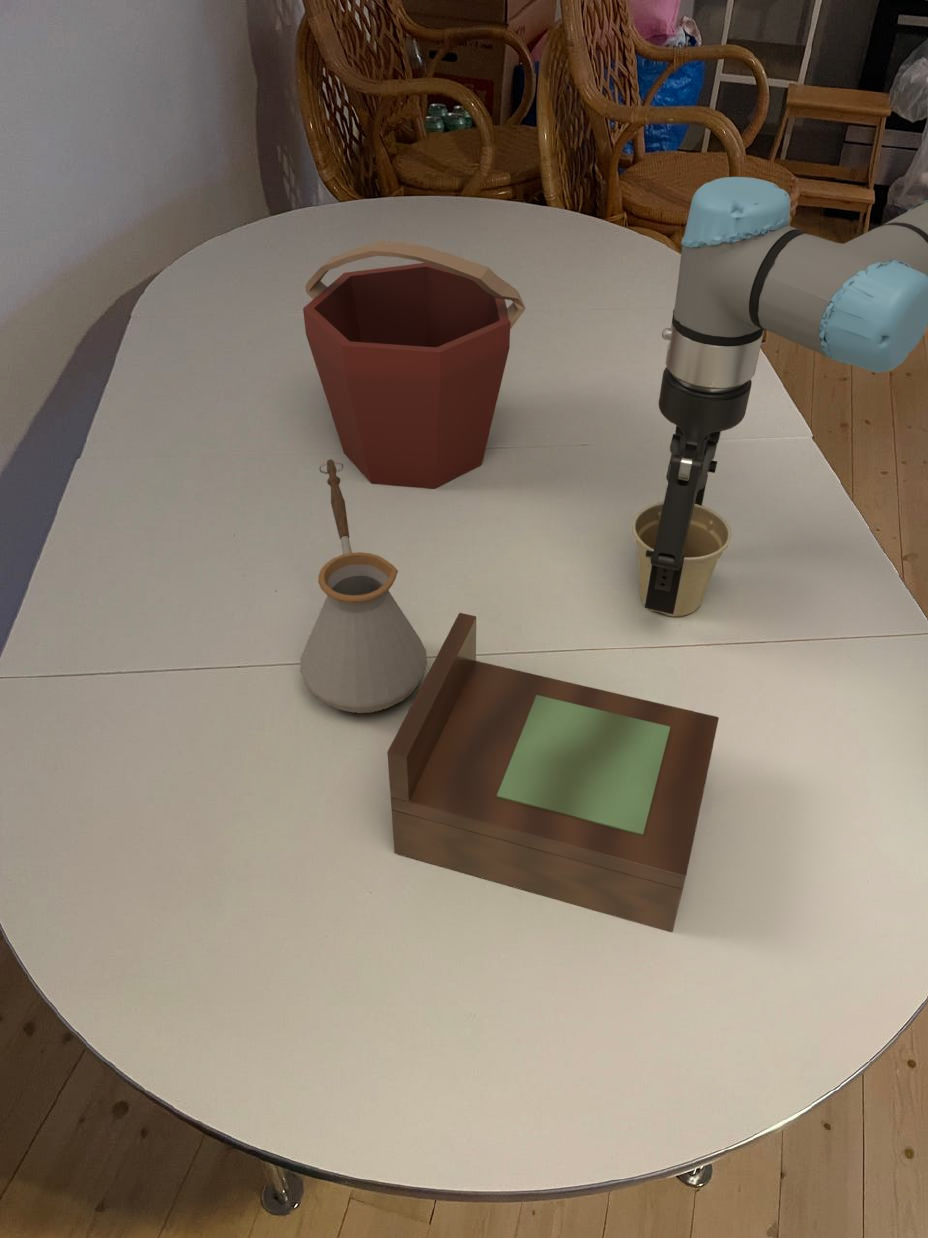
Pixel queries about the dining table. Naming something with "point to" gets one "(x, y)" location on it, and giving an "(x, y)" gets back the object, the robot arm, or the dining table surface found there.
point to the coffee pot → (360, 629)
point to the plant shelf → (549, 784)
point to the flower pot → (700, 553)
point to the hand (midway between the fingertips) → (672, 566)
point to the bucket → (411, 360)
